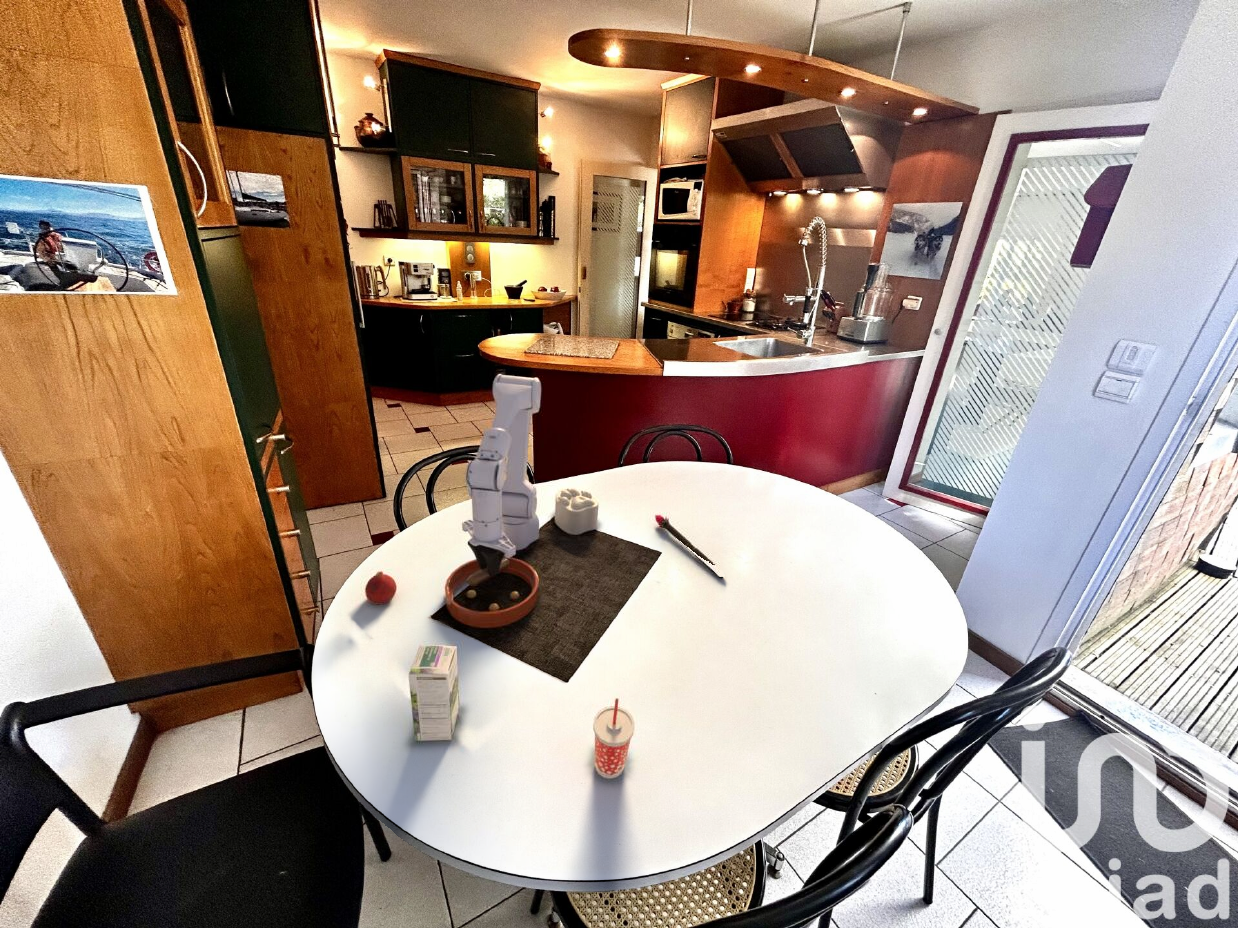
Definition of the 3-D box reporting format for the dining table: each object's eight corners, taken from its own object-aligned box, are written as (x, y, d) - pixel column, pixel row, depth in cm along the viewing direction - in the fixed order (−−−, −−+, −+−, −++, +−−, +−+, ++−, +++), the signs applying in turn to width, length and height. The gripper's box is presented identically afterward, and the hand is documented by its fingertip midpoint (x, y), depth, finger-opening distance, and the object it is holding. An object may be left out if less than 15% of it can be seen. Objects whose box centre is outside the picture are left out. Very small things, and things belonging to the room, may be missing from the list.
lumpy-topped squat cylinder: (570, 536, 132) (571, 509, 128) (546, 515, 141) (547, 488, 137) (601, 526, 138) (603, 499, 134) (576, 506, 147) (578, 480, 143)
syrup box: (424, 709, 81) (417, 643, 75) (461, 709, 82) (456, 643, 76) (414, 741, 76) (405, 673, 70) (453, 741, 77) (448, 673, 71)
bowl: (498, 563, 119) (498, 546, 117) (556, 599, 109) (556, 581, 107) (427, 602, 105) (426, 583, 103) (486, 648, 94) (485, 628, 92)
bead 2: (494, 607, 104) (494, 599, 103) (500, 611, 103) (500, 604, 102) (487, 612, 103) (486, 604, 102) (493, 616, 102) (493, 609, 101)
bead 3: (515, 595, 108) (515, 588, 107) (521, 599, 107) (521, 592, 106) (508, 599, 107) (507, 592, 106) (514, 604, 106) (514, 596, 105)
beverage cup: (597, 739, 79) (603, 677, 73) (633, 752, 78) (642, 689, 72) (583, 775, 74) (589, 710, 68) (622, 789, 72) (631, 724, 66)
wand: (720, 573, 118) (649, 510, 140) (716, 586, 120) (648, 522, 142) (732, 568, 120) (661, 507, 142) (729, 581, 122) (659, 519, 144)
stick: (504, 563, 109) (504, 554, 108) (511, 568, 107) (511, 559, 106) (465, 585, 101) (464, 575, 100) (472, 590, 100) (472, 580, 99)
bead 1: (472, 594, 107) (472, 586, 107) (478, 598, 106) (477, 590, 105) (464, 598, 106) (464, 591, 105) (470, 602, 105) (470, 595, 104)
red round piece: (386, 615, 100) (382, 583, 97) (361, 609, 101) (356, 578, 98) (403, 597, 105) (399, 566, 102) (379, 591, 106) (374, 561, 103)
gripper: (448, 509, 99) (452, 564, 104) (495, 537, 91) (496, 595, 97) (476, 497, 104) (479, 550, 110) (523, 523, 96) (523, 579, 102)
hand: (489, 570), depth 104 cm, fingers closed on stick, 2 cm apart
